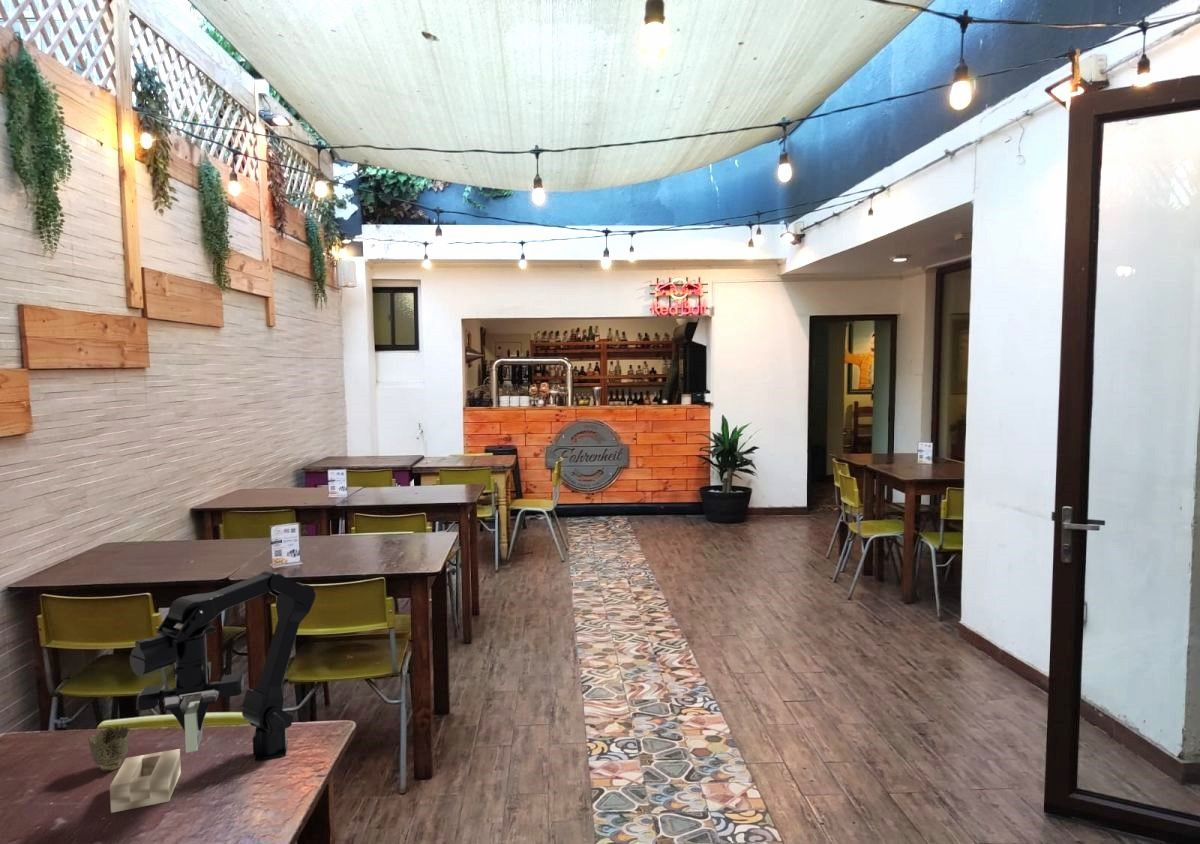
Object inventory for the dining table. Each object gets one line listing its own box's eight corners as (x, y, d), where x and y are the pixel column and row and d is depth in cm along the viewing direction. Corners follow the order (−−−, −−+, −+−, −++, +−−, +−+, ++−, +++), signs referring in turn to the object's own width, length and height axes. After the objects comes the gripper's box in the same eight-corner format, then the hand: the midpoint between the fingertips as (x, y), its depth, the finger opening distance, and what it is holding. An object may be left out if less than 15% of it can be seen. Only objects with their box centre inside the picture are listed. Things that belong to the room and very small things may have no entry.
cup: (109, 779, 145) (107, 743, 145) (81, 775, 147) (79, 740, 147) (139, 760, 153) (138, 726, 152) (112, 757, 154) (111, 723, 154)
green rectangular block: (202, 736, 144) (201, 700, 144) (197, 750, 138) (195, 713, 138) (191, 738, 143) (189, 702, 143) (185, 752, 138) (184, 715, 137)
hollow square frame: (180, 772, 148) (179, 748, 148) (169, 801, 138) (168, 775, 137) (127, 782, 144) (126, 758, 144) (111, 812, 134) (109, 786, 134)
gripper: (245, 638, 151) (247, 705, 152) (148, 650, 144) (151, 721, 145) (239, 656, 140) (241, 729, 141) (133, 671, 134) (137, 747, 134)
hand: (193, 730), depth 141 cm, fingers closed on green rectangular block, 2 cm apart
